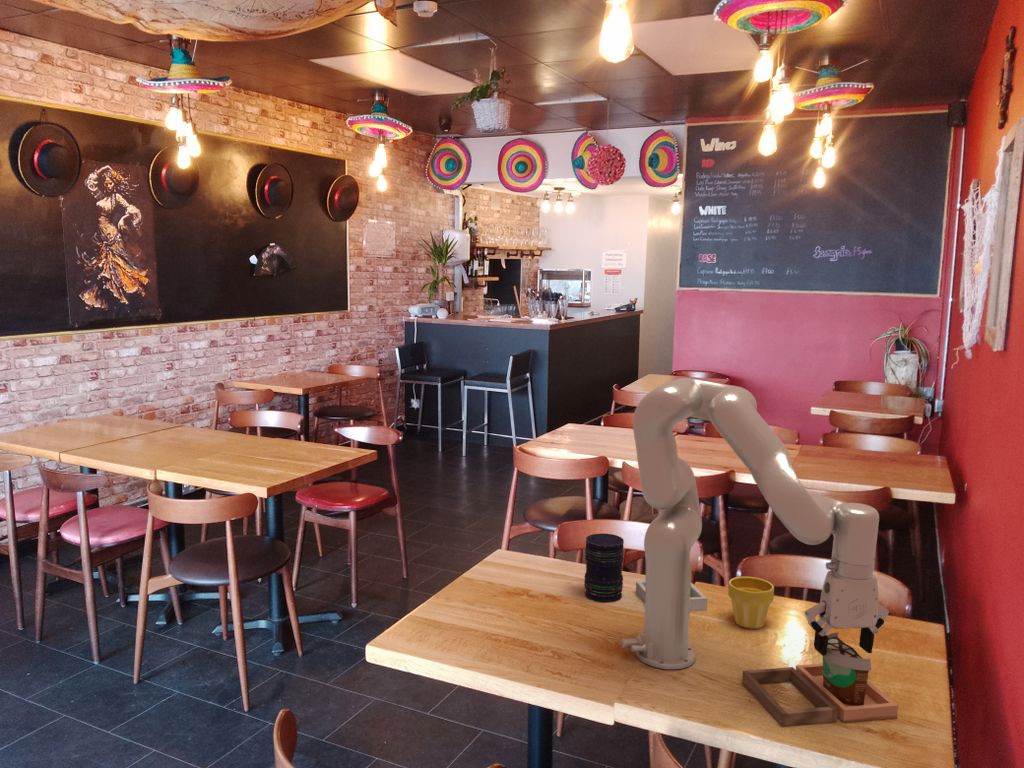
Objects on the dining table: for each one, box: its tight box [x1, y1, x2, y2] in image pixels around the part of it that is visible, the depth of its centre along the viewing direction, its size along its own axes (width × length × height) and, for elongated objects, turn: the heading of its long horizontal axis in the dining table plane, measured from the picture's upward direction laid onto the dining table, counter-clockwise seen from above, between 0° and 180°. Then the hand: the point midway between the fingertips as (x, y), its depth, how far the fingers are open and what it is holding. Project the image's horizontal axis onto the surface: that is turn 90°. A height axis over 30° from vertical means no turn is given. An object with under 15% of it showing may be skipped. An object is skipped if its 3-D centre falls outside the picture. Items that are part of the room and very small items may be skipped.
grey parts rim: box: [635, 580, 708, 612], centre depth 198 cm, size 14×13×3 cm
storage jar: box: [583, 533, 625, 604], centre depth 200 cm, size 10×10×15 cm
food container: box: [822, 631, 872, 706], centre depth 152 cm, size 12×6×10 cm, turn 7°
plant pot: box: [727, 576, 775, 630], centre depth 185 cm, size 10×10×10 cm
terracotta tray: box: [795, 662, 899, 724], centre depth 153 cm, size 11×17×2 cm, turn 10°
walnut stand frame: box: [741, 666, 838, 728], centre depth 151 cm, size 11×16×2 cm
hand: (842, 651), depth 152 cm, fingers open, 9 cm apart
